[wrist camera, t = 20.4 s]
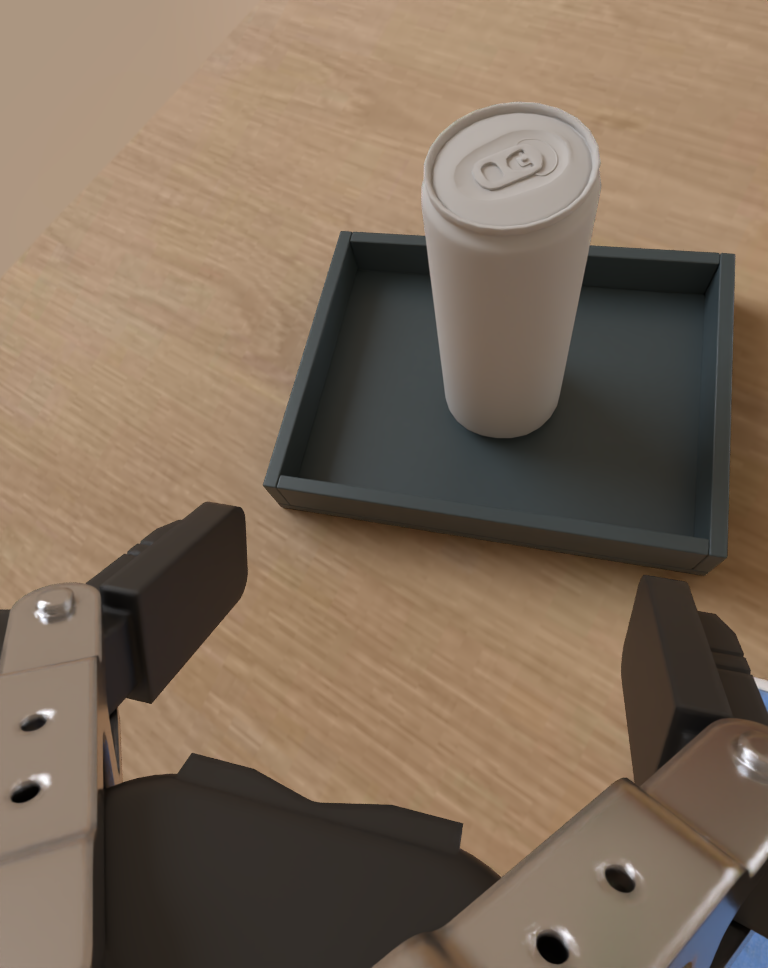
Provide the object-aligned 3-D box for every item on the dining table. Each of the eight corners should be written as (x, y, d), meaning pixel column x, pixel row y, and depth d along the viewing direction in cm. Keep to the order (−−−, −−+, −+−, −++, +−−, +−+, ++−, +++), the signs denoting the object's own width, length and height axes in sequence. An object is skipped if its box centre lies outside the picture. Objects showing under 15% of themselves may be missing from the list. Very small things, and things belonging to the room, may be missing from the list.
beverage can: (579, 419, 26) (643, 187, 15) (473, 463, 26) (461, 261, 15) (528, 333, 28) (552, 74, 17) (429, 374, 28) (391, 140, 17)
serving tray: (280, 507, 28) (262, 485, 25) (350, 267, 32) (340, 230, 30) (705, 576, 24) (728, 558, 21) (716, 292, 28) (736, 252, 26)
